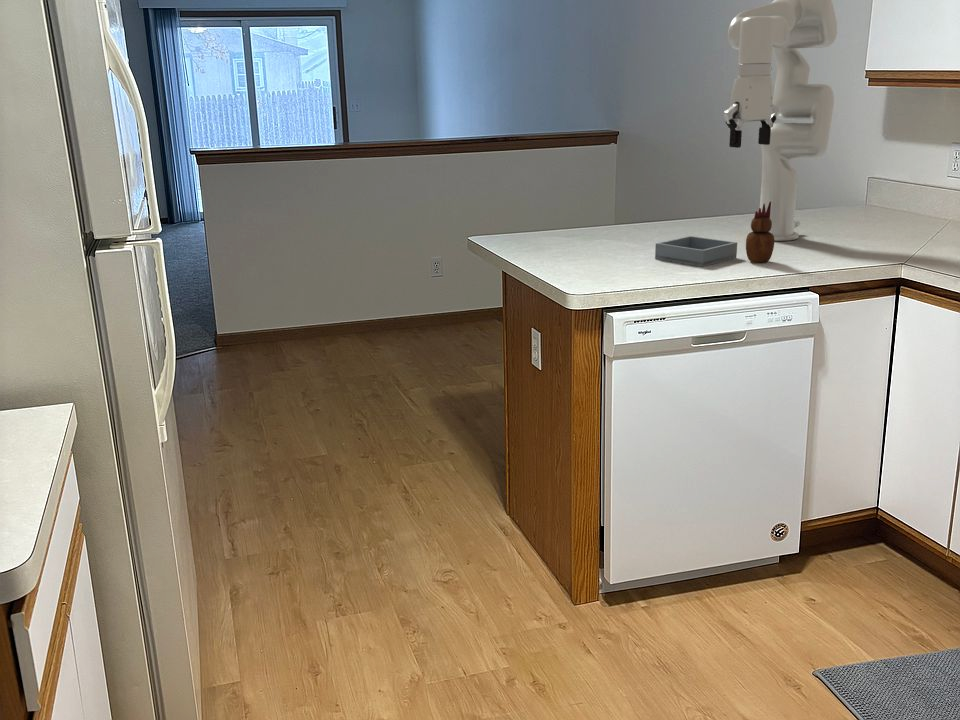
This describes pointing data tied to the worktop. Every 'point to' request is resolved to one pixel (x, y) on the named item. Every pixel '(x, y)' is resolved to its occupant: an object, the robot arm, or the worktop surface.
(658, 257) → the slate tray
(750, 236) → the wooden figurine
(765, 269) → the worktop surface
